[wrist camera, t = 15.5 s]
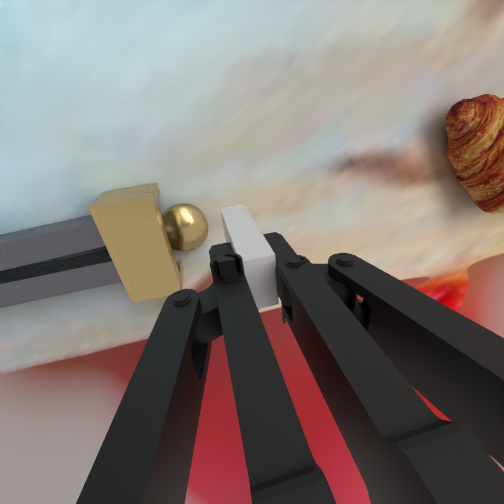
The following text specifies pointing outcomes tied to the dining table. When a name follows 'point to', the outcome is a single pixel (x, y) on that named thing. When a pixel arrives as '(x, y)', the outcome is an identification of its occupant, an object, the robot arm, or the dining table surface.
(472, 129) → the croissant
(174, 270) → the tan block
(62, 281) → the tongs fixed arm
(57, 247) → the tongs arm
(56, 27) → the dining table surface
